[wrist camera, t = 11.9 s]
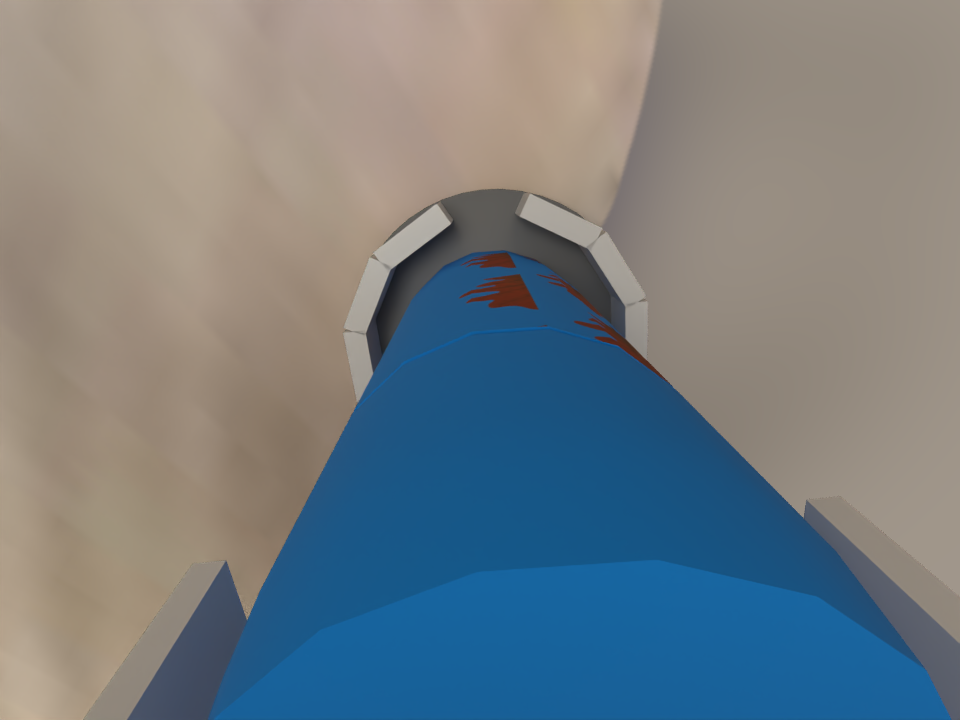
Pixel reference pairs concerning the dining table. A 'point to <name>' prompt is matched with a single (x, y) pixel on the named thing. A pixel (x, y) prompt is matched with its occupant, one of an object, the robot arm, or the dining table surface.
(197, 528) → the dining table surface
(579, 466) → the thermos
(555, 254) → the bayonet base
